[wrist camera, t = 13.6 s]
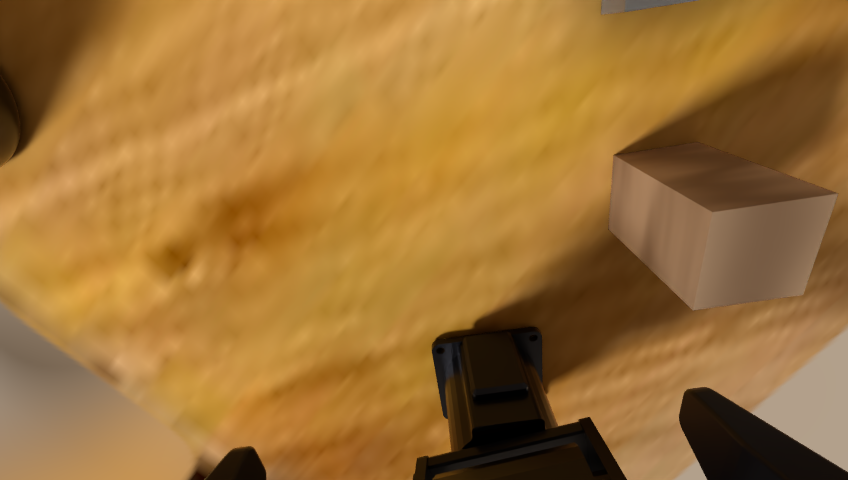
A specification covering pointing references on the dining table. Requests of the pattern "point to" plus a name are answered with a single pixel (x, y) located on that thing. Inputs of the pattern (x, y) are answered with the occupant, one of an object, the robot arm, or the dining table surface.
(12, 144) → the supplement bottle
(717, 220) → the beige rectangular prism
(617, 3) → the grey stepped square base
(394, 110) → the dining table surface
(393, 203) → the dining table surface
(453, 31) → the dining table surface
